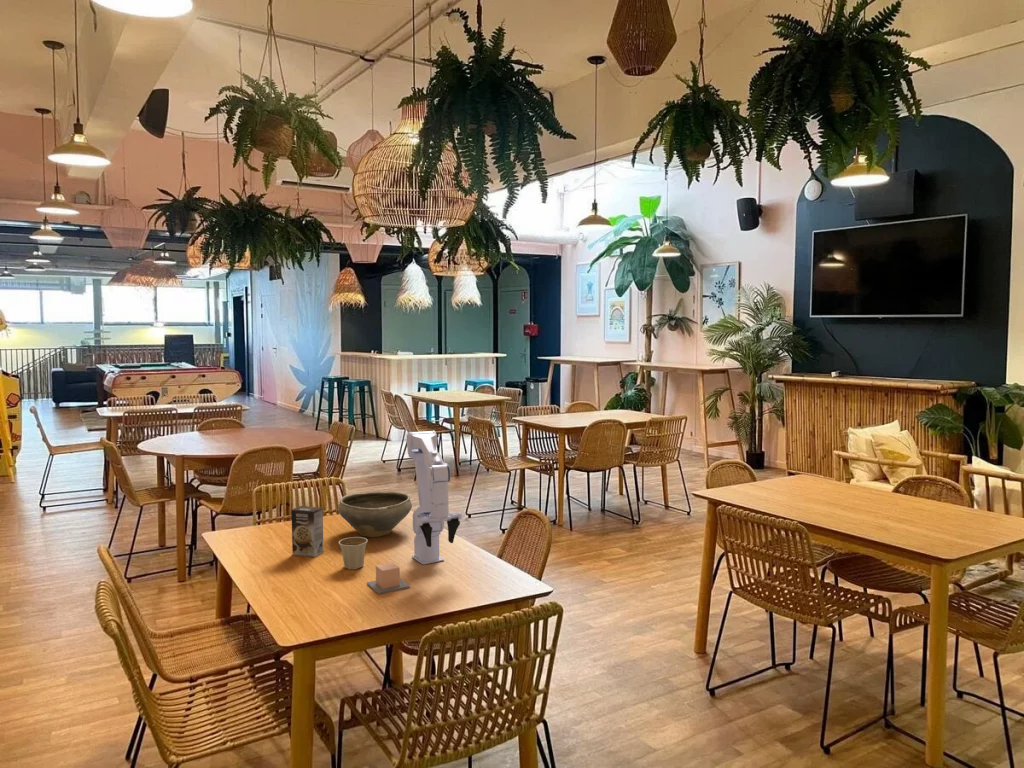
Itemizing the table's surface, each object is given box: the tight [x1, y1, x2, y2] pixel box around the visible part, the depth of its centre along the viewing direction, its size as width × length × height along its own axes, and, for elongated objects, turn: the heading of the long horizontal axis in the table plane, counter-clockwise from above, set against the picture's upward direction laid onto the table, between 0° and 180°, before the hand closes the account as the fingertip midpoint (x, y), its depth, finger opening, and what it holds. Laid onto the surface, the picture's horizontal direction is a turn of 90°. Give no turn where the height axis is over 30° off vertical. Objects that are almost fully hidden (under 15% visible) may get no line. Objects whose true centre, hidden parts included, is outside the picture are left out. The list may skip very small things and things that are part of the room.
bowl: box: [337, 491, 413, 538], centre depth 280 cm, size 28×28×14 cm
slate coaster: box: [366, 578, 410, 595], centre depth 224 cm, size 10×10×1 cm
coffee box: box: [290, 505, 324, 558], centre depth 256 cm, size 9×6×16 cm
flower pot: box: [338, 536, 369, 570], centre depth 242 cm, size 9×9×9 cm
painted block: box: [375, 562, 401, 589], centre depth 224 cm, size 6×6×6 cm
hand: (439, 544), depth 232 cm, fingers open, 7 cm apart
